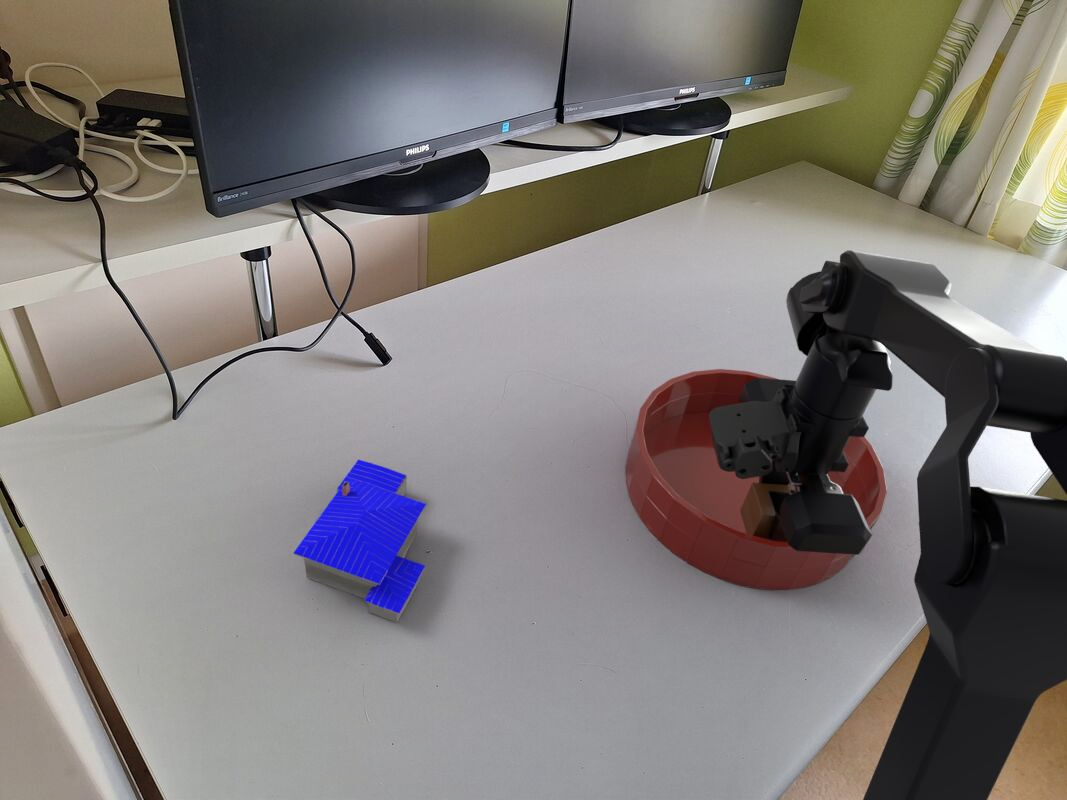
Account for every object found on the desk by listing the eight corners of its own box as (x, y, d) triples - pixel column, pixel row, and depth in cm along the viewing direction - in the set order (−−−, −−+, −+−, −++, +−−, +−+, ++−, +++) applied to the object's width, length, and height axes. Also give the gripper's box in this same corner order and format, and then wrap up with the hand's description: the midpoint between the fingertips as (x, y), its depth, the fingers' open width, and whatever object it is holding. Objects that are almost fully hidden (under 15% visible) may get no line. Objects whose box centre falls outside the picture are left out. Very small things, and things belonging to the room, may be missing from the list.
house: (462, 510, 75) (465, 472, 72) (399, 628, 65) (399, 590, 61) (359, 476, 77) (357, 437, 74) (282, 585, 67) (275, 546, 63)
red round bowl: (910, 534, 80) (938, 493, 76) (733, 631, 69) (755, 589, 64) (746, 389, 96) (762, 348, 91) (579, 448, 84) (589, 405, 80)
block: (779, 512, 74) (793, 485, 71) (790, 546, 71) (805, 518, 68) (739, 510, 73) (752, 482, 71) (749, 543, 70) (762, 515, 68)
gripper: (710, 320, 68) (670, 445, 78) (761, 474, 54) (703, 601, 64) (830, 331, 69) (774, 452, 79) (911, 484, 55) (830, 608, 65)
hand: (768, 520), depth 72 cm, fingers closed on block, 4 cm apart
